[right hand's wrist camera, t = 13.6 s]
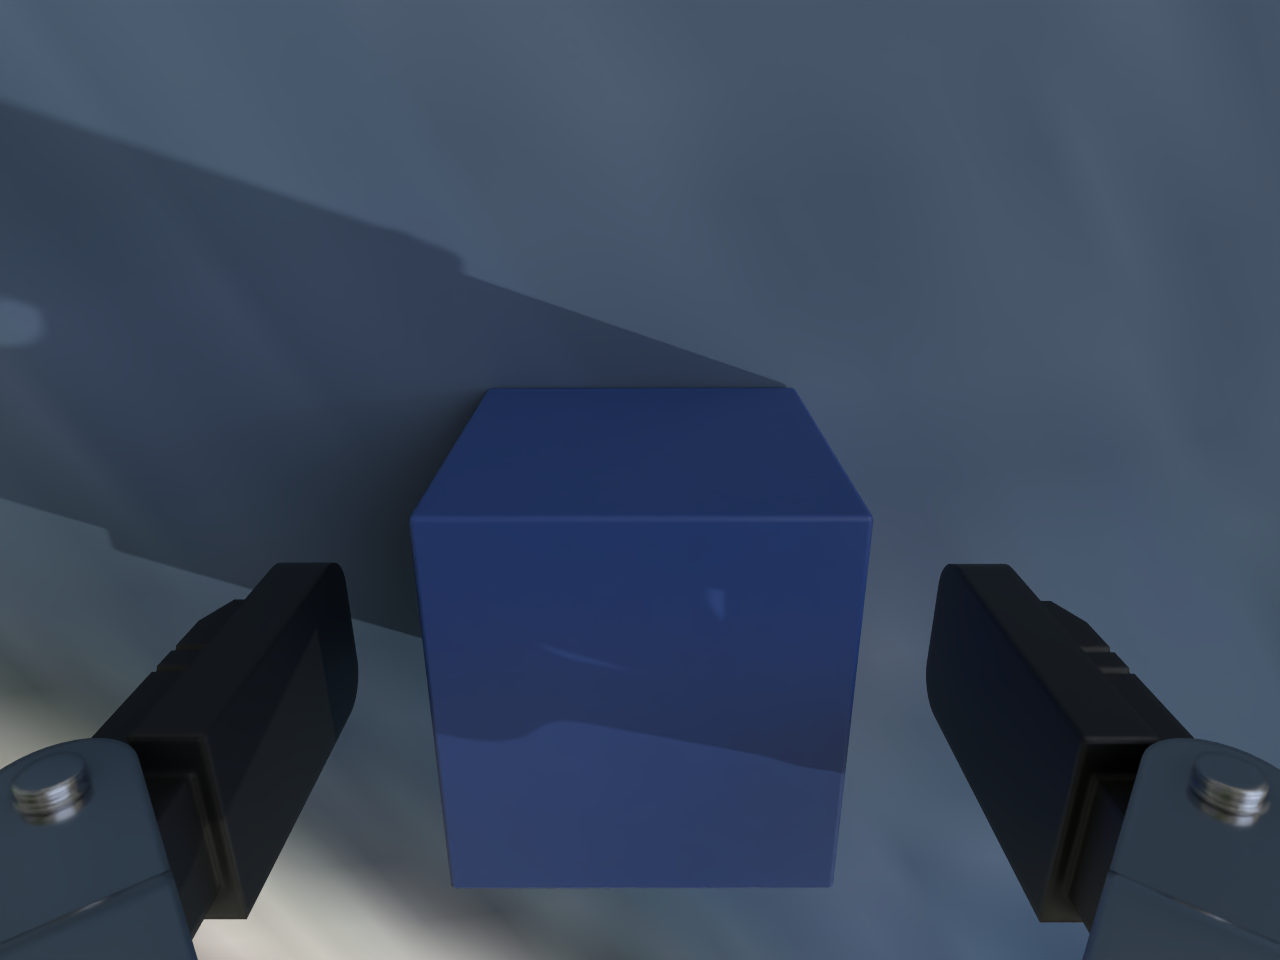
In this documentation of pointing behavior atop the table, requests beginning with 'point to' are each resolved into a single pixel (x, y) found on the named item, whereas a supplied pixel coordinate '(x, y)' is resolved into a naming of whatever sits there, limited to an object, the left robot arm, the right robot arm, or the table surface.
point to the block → (641, 638)
